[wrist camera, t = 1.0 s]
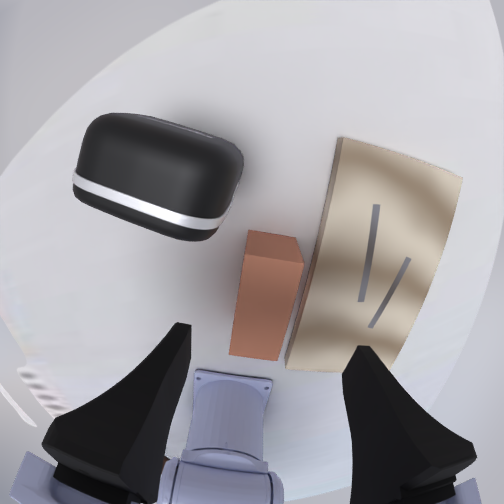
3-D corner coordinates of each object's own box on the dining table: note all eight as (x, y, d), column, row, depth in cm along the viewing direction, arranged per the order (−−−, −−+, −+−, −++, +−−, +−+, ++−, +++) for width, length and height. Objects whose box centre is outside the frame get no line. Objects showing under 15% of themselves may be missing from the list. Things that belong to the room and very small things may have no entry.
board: (383, 363, 26) (388, 372, 25) (284, 358, 26) (285, 369, 25) (452, 175, 19) (462, 177, 18) (337, 137, 19) (343, 137, 17)
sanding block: (274, 322, 25) (277, 361, 20) (234, 316, 25) (228, 354, 20) (295, 237, 22) (304, 263, 17) (248, 229, 22) (245, 254, 17)
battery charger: (255, 148, 19) (249, 152, 9) (236, 196, 21) (209, 257, 10) (165, 117, 18) (73, 101, 8) (149, 165, 20) (52, 195, 9)
